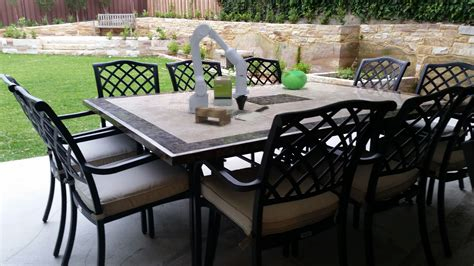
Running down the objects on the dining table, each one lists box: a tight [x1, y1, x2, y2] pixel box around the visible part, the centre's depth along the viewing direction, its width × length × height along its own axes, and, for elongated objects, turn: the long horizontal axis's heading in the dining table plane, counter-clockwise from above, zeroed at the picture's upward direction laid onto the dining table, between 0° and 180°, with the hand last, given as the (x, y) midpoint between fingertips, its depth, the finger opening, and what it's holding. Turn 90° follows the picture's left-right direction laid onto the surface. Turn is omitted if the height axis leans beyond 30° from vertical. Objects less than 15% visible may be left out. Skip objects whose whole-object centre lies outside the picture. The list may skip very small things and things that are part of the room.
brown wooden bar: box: [226, 109, 239, 119], centre depth 191 cm, size 4×14×2 cm, turn 160°
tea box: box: [213, 75, 233, 107], centre depth 222 cm, size 15×10×15 cm
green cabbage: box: [280, 67, 308, 90], centre depth 275 cm, size 18×17×15 cm
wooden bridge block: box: [194, 106, 232, 127], centre depth 178 cm, size 14×8×7 cm, turn 61°
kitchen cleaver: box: [234, 105, 270, 122], centre depth 196 cm, size 31×2×10 cm
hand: (241, 110), depth 201 cm, fingers closed
